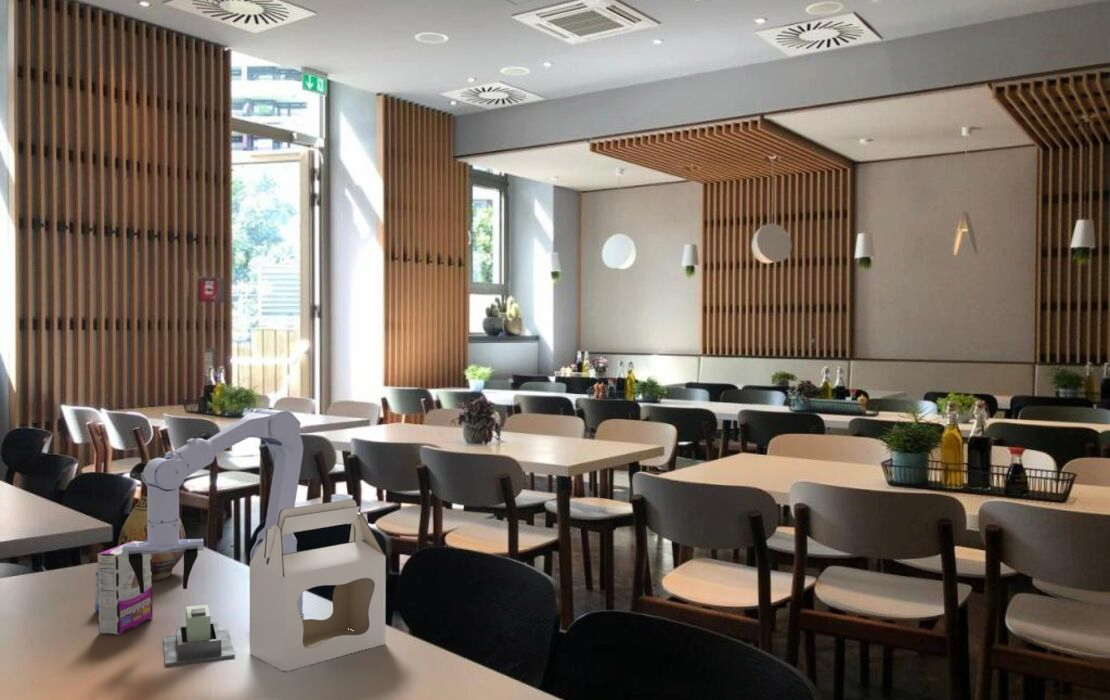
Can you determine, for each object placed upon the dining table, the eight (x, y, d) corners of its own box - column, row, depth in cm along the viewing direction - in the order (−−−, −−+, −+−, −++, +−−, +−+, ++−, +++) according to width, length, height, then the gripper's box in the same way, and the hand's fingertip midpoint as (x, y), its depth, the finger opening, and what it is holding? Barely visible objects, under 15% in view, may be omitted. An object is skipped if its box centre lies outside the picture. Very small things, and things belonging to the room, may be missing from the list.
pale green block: (207, 629, 184) (207, 601, 184) (210, 642, 177) (210, 612, 177) (186, 632, 183) (186, 603, 183) (187, 644, 175) (187, 615, 175)
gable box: (282, 673, 167) (282, 517, 166) (248, 654, 176) (247, 506, 176) (387, 644, 183) (387, 501, 182) (350, 628, 192) (350, 492, 191)
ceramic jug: (142, 588, 220) (142, 461, 220) (104, 578, 229) (104, 456, 228) (204, 573, 234) (204, 453, 234) (167, 564, 243) (166, 449, 242)
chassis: (227, 632, 189) (227, 617, 189) (234, 657, 174) (234, 641, 174) (163, 639, 184) (163, 624, 184) (165, 666, 170) (165, 650, 170)
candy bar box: (132, 617, 198) (132, 540, 198) (153, 618, 197) (153, 541, 197) (96, 634, 188) (96, 552, 187) (118, 635, 187) (118, 554, 186)
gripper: (121, 527, 175) (122, 599, 176) (204, 521, 181) (204, 591, 181) (122, 520, 182) (122, 589, 182) (202, 514, 188) (202, 581, 188)
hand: (163, 589), depth 182 cm, fingers open, 7 cm apart
